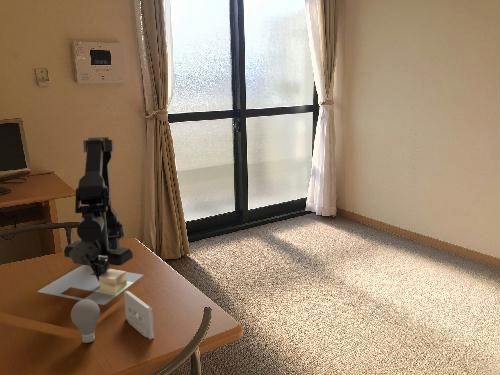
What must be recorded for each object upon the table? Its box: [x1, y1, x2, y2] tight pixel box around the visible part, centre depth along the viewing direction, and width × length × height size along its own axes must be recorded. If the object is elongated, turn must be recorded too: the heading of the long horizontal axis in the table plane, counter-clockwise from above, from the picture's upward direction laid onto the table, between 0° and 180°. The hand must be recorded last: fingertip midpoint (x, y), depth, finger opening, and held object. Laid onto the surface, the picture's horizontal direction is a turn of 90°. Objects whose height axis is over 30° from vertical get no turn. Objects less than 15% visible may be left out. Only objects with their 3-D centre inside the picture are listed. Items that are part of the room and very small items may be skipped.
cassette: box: [123, 289, 155, 340], centre depth 98 cm, size 12×2×8 cm, turn 43°
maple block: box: [99, 268, 127, 293], centre depth 115 cm, size 5×5×4 cm
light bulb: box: [70, 298, 101, 344], centre depth 93 cm, size 6×6×10 cm
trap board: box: [36, 264, 144, 306], centre depth 119 cm, size 18×22×2 cm
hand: (100, 281), depth 117 cm, fingers closed
